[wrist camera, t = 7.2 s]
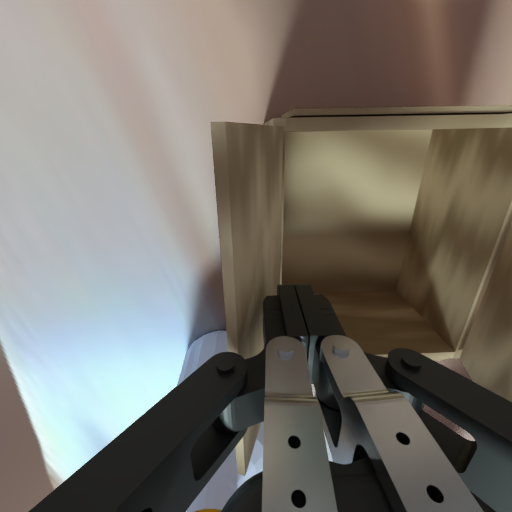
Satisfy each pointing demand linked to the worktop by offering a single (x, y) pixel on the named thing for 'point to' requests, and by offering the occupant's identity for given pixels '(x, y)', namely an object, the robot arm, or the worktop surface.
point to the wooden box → (397, 217)
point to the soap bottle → (226, 478)
